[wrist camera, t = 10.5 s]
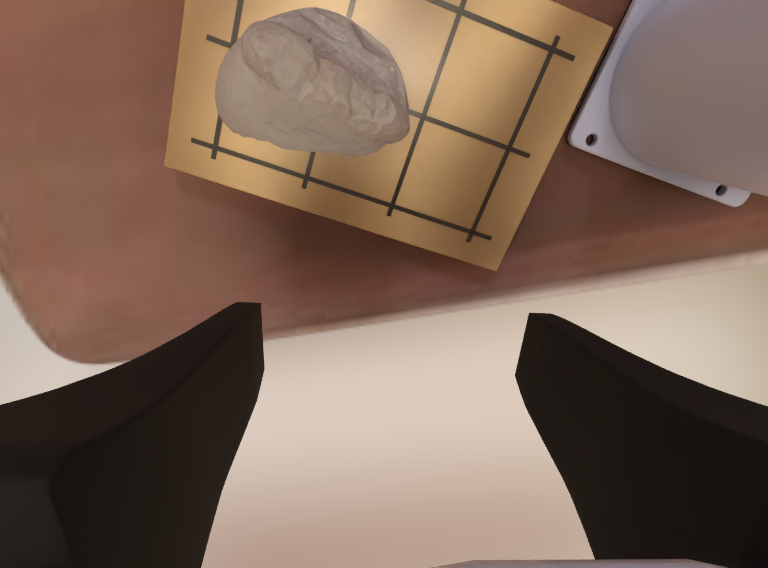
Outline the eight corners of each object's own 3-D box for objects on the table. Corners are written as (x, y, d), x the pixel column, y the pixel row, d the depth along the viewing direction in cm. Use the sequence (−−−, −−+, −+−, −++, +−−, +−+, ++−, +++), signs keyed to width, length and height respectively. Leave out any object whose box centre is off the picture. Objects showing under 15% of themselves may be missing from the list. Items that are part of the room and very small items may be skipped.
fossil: (257, 124, 18) (139, 160, 9) (251, 28, 16) (102, -50, 7) (396, 132, 18) (421, 174, 9) (401, 38, 17) (439, -25, 8)
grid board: (602, 30, 18) (615, 27, 17) (491, 264, 22) (497, 272, 21) (213, -139, 15) (202, -154, 14) (172, 162, 19) (162, 166, 18)
